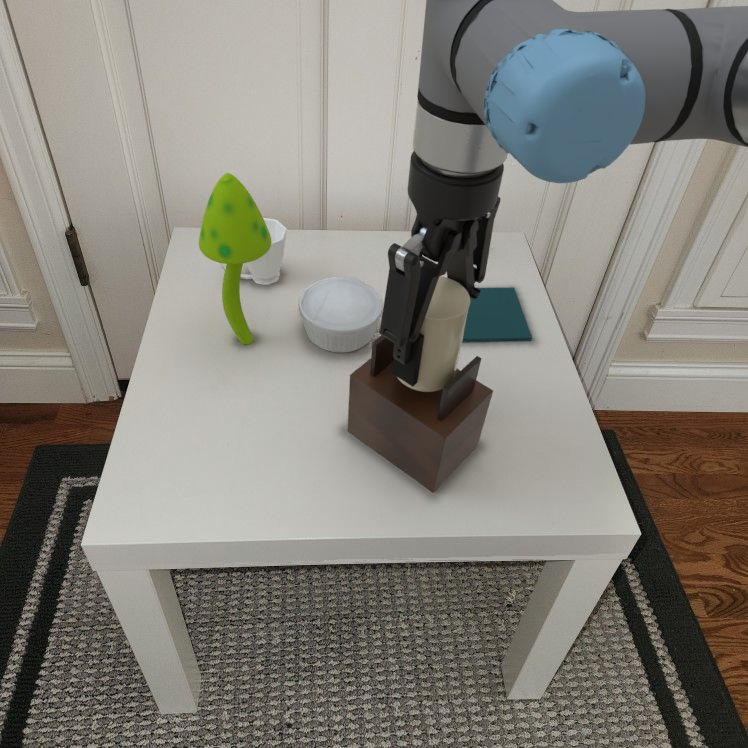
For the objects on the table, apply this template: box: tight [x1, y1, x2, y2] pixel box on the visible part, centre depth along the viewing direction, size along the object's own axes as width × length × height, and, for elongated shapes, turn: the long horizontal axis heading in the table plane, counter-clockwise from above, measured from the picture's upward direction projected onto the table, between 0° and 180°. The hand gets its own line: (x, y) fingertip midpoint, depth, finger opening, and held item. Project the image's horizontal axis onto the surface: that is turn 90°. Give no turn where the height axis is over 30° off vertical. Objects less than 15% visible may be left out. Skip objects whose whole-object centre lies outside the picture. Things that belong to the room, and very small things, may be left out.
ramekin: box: [297, 276, 384, 354], centre depth 89 cm, size 11×11×5 cm
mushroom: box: [198, 172, 271, 345], centre depth 80 cm, size 8×8×25 cm
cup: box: [219, 217, 288, 286], centre depth 95 cm, size 7×10×8 cm
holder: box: [347, 335, 494, 493], centre depth 74 cm, size 13×9×15 cm
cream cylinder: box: [397, 275, 470, 392], centre depth 66 cm, size 7×7×10 cm
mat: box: [462, 286, 533, 343], centre depth 95 cm, size 11×11×1 cm
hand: (426, 359), depth 69 cm, fingers closed on cream cylinder, 7 cm apart
